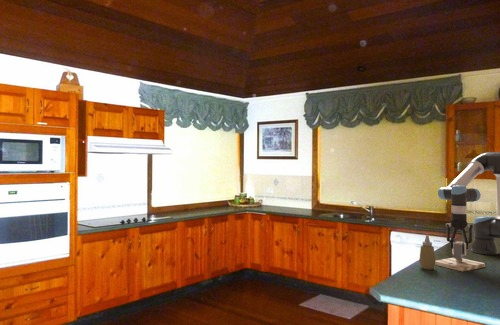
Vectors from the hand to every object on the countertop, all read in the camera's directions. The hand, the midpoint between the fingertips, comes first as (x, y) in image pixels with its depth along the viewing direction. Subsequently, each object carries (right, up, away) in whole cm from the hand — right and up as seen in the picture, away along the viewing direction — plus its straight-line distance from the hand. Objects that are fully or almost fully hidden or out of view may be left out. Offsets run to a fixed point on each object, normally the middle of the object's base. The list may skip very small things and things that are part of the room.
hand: (459, 254), depth 221 cm
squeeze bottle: (-21, -6, -6) cm, 23 cm away
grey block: (0, -1, 0) cm, 1 cm away
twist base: (0, -6, 0) cm, 6 cm away
